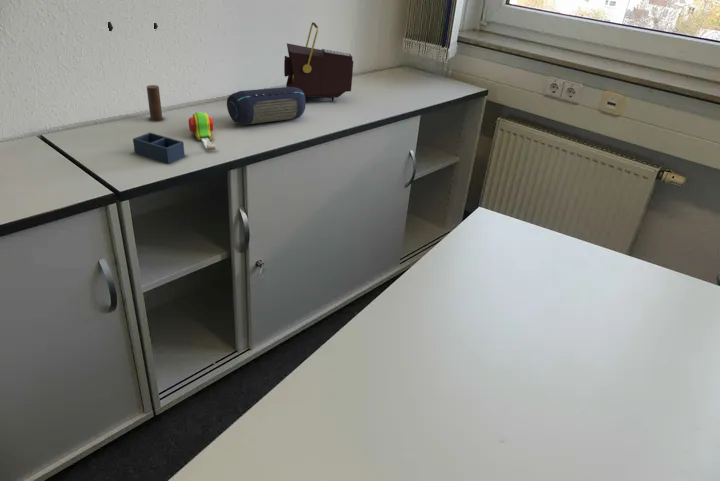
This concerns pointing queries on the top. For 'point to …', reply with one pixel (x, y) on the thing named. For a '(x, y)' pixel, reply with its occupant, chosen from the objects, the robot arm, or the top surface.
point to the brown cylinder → (154, 102)
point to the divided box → (159, 147)
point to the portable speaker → (266, 105)
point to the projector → (318, 70)
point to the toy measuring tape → (202, 128)
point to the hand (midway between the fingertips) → (133, 30)
